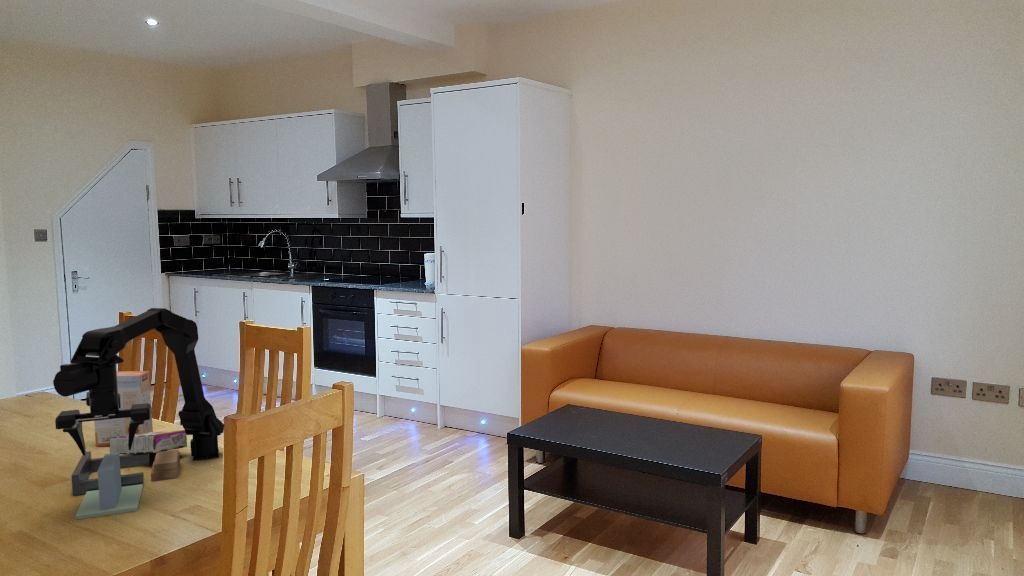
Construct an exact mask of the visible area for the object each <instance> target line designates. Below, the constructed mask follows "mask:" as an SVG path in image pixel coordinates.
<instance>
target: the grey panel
mask: <svg viewBox="0 0 1024 576" xmlns="http://www.w3.org/2000/svg"><path fill="white" fill-rule="evenodd" d="M102 458H103V460H102V462H101V464H100V467H99V469H98V471H97V478H98V485H99V499H100V510H105V509H111V508H116V505H117V502H118V499H119V496H120V493H121V489H122V486H121V475H122V474H121V468H120V454H119V453H112V454H110V453H105V454H104V455H103V457H102Z"/></svg>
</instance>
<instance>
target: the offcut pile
mask: <svg viewBox="0 0 1024 576" xmlns="http://www.w3.org/2000/svg"><path fill="white" fill-rule="evenodd" d="M180 456H181V455H180V454H179V449H173V450H168V451H162V452H156V454H155V457H154V459H153V463H152V468H151V472H150V480H151V482H156V480H157V481H164V480H165V481H166V480H171V479H178V478H179V472H180V470H179V469H180V464H181V463H180V462H181V460H180V459H181V457H180Z"/></svg>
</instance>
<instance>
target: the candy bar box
mask: <svg viewBox="0 0 1024 576" xmlns="http://www.w3.org/2000/svg"><path fill="white" fill-rule="evenodd" d="M128 439H129V435H124V436H118V437H112V438H110V441H109V442H110V446H109V454H112V453H119V455H129V454H138V453H149V454H152V453H153V454H155V453H157V452H164V451H172V450H179V449H183V448H187V447H188V441H187V439H188V437H187V435H186V432H185V429H183V430H179V429H177V430H169V431H168V430H166V431H163V430H162V431H153V432H148V433H137V434H135V436H134V440H133V444H132V447H131V450H129V448H128Z"/></svg>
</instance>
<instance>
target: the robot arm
mask: <svg viewBox="0 0 1024 576" xmlns="http://www.w3.org/2000/svg"><path fill="white" fill-rule="evenodd" d="M152 330H154V331H156V332H157V333H159V334H160V335H161V337H162V339H163V342H164V345H165V346H166V347H167V348H168V349H169V350H170V351H171V352H172V354H173V355H174V360H175V365H176V369H177V375H178V379H179V383H180V387H181V391H182V396H183V399H184V404H183V407H182V408H181V410H179V411H178V414H177V415H178V417H179V425H180V426H182V428H183V430H185V432H186V436H192V438H191V439H190V442H189V443H190V457H192V460H193V461H199V460H206V459H214V458H219V457H220V449H219V438H218V437H219V436H221V435H222V434H223V433H224V430H225V423H223V422H222V421H221V420H220V419H219V418H218V417H217V414H216V412H215V410H214V407H213V405H212V404H211V403H210V402H209V400H207V399H206V397H205V393H204V388H203V384H202V380H201V375H200V370H199V366H198V360H197V356H196V351H195V349H196V346H197V344H198V342H199V331H198V324H197V322H195V321H194V320H193V319H188V318H186V317H184V316H181V315H179V314H176V313H175V312H172V311H171V310H169V309H168V308H164V307H163V308H162V307H151V308H149V309H147V310H146V311H144V312H142V313H140V314H138V315H136V316H134V317H132V318H129V319H126V320H125V321H123V322H120V323H118V324H116V325H113V326H111V327H110V326H109V327H102V328H95V329H93V330H89V331H86V332H84V333H83V334H82V336H81V337H82V338H81V340H80V342H79V344H78V346H77V348H76V350H75V351H74V354H73V356H72V358H71V360H70V363H64V364H60V366H59V371H58V372H56V374H55V375H54V379H53V381H52V382H53V383H52V384H53V387H54V390H55V391H56V393H57V394H58V395H59V396H61V397H64V398H67V397H71V396H73V395H77V394H80V393H81V394H82V393H85V392H86V396H85V401H86V404H85V405H86V406H87V407H89V411H90V412H86V413H80V409H71V410H62V411H61V412H59V414H57V416H56V417H55V421H54V423H55V430H62V433H68V434H69V436H70V437H71V438H72V440H73V441H74V442H75V444H76V445H77V447H78V449H79V450H80V452H81V454H82V455H86V452H87V451H86V449H87V448H86V443H85V437H84V432H83V423H84V422H94V421H97V420H107V419H117V418H127V417H130V418H131V421H130V424H129V439H128V448H129V450H131V447H132V444H133V440H134V436H135V433H136V431H137V428H138V426H139V425H141V424H144V422H145V420H150V418H151V414H152V413H153V412H152V404H151V405H150V404H149V403H144V404H133V405H132V407H131V409H125V410H119V408H121V402H120V394H119V393H118V386H117V372H118V371H117V365H118V364H121V363H124V361H125V360H124V359H123V358H122V357H120V356H118V354H119V353H120V352H121V351H122V350H124V349H125V348H126V346H127V343H129V342H130V341H133V340H134V339H137V338H138V337H141V336H142V335H144V334H147V333H148V332H150V331H152ZM113 414H115V415H113ZM99 415H101V416H99ZM152 415H153V414H152ZM95 416H98V417H95Z"/></svg>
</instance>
